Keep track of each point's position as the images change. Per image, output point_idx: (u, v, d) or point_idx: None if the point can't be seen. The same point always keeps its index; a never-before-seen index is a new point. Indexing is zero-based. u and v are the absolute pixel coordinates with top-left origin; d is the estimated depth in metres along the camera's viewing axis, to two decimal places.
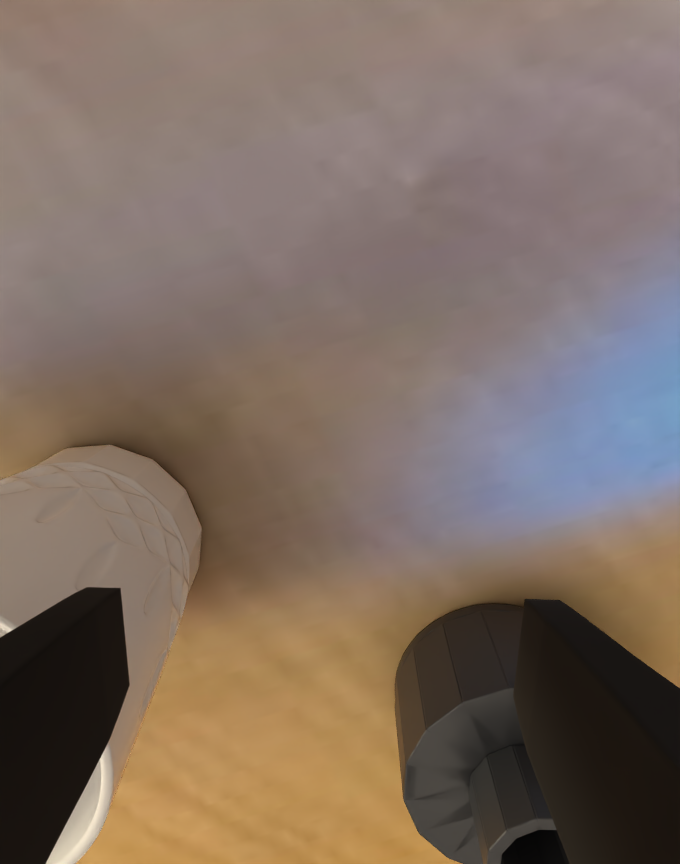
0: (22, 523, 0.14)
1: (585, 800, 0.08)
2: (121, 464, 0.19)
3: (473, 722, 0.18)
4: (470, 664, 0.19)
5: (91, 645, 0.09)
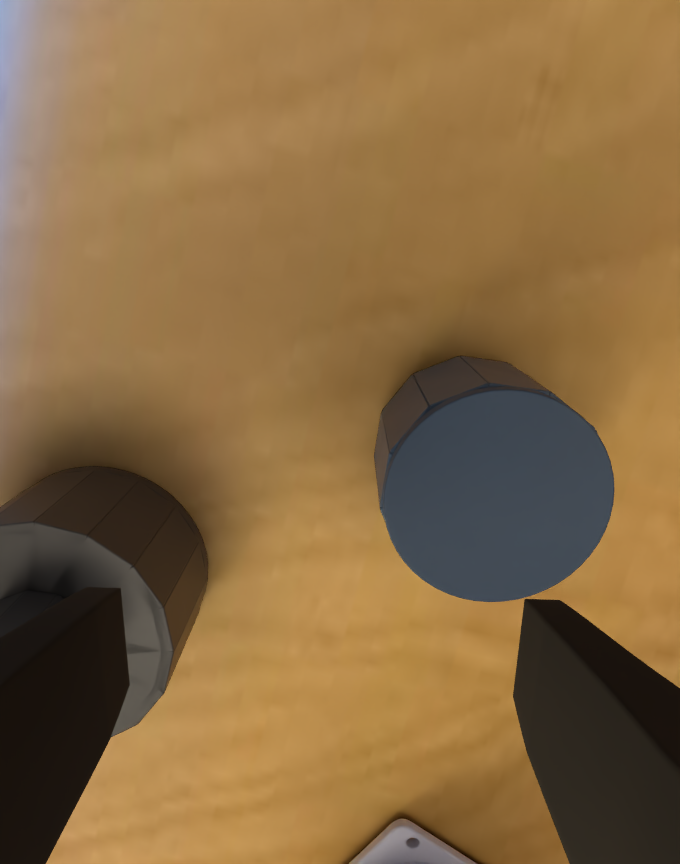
0: None
1: (585, 800, 0.08)
2: None
3: None
4: None
5: (91, 645, 0.09)
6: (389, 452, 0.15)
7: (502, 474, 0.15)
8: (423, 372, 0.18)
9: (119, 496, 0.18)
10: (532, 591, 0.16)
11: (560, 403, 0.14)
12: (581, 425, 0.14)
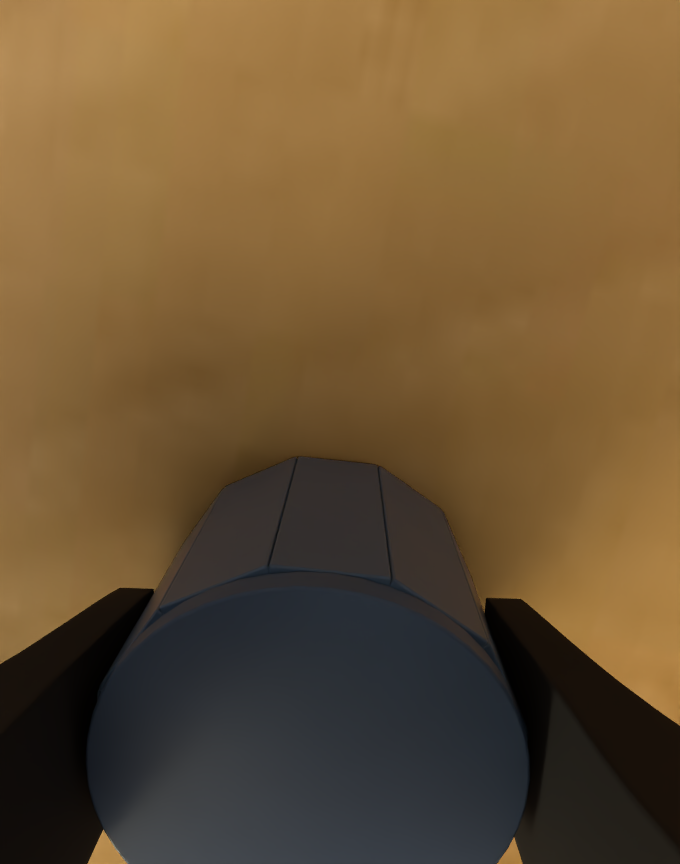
0: None
1: (535, 798, 0.08)
2: None
3: None
4: None
5: None
6: (99, 690, 0.08)
7: (307, 738, 0.08)
8: (234, 488, 0.11)
9: None
10: None
11: (406, 610, 0.07)
12: (452, 650, 0.07)
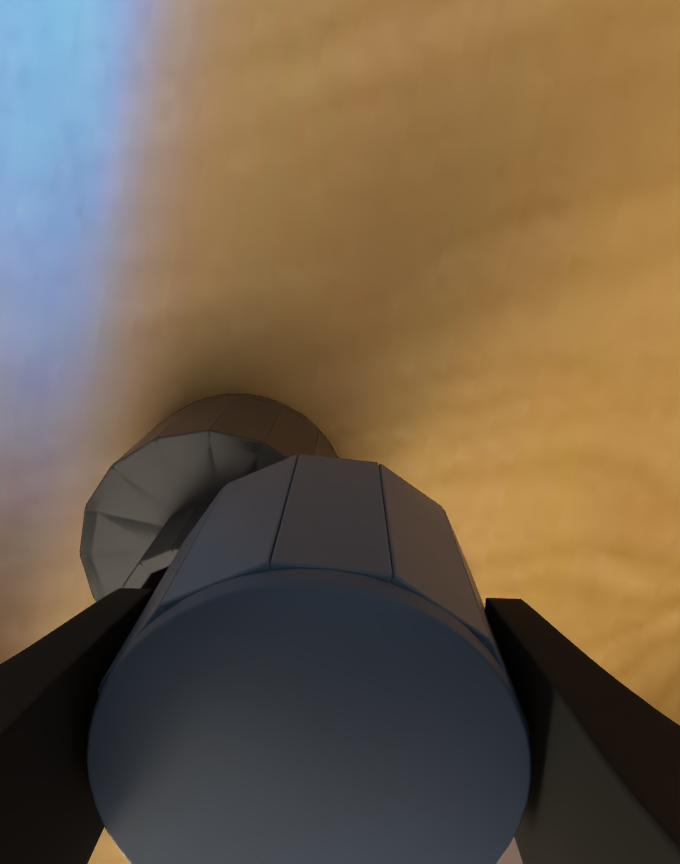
0: None
1: (535, 798, 0.08)
2: None
3: (108, 557, 0.16)
4: None
5: None
6: (99, 687, 0.08)
7: (308, 735, 0.08)
8: (235, 486, 0.11)
9: (272, 415, 0.18)
10: None
11: (407, 606, 0.07)
12: (453, 647, 0.07)
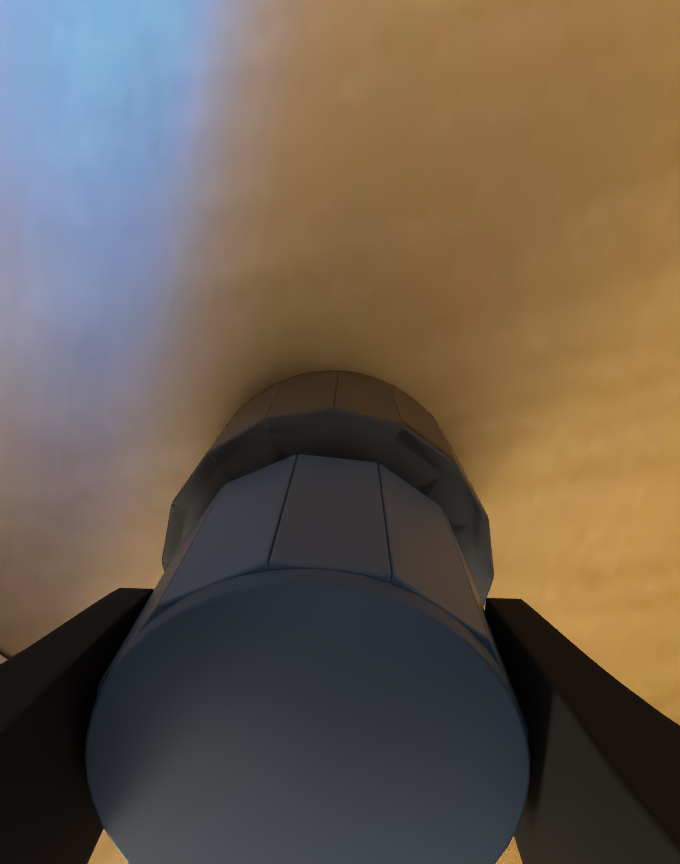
0: None
1: (535, 798, 0.08)
2: None
3: None
4: None
5: None
6: (98, 687, 0.08)
7: (307, 735, 0.08)
8: (234, 486, 0.11)
9: (388, 395, 0.15)
10: None
11: (406, 606, 0.07)
12: (452, 647, 0.07)
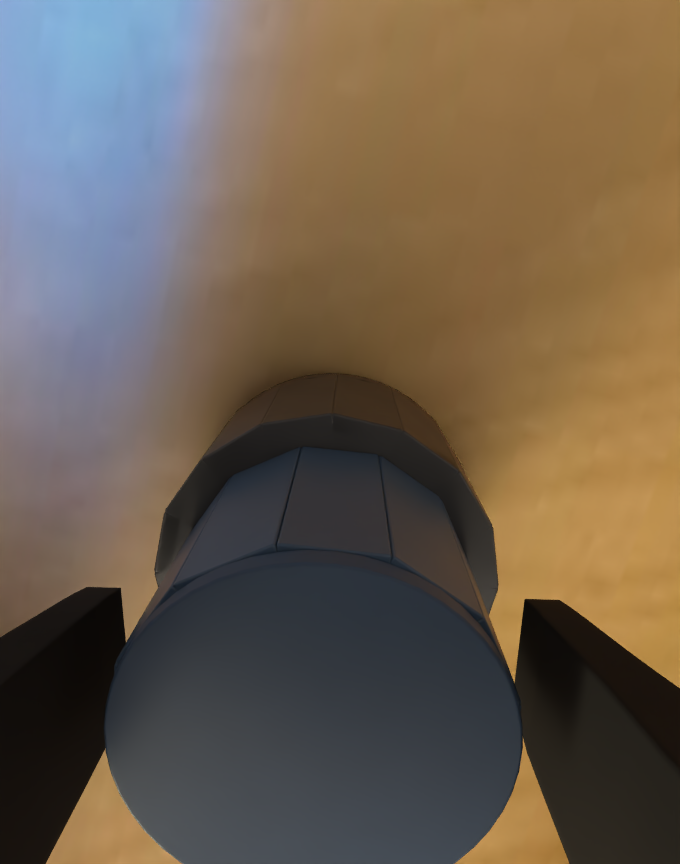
0: None
1: (585, 800, 0.08)
2: None
3: None
4: None
5: (91, 645, 0.09)
6: (116, 663, 0.08)
7: (312, 707, 0.08)
8: (241, 477, 0.12)
9: (389, 398, 0.14)
10: None
11: (405, 585, 0.08)
12: (449, 623, 0.08)
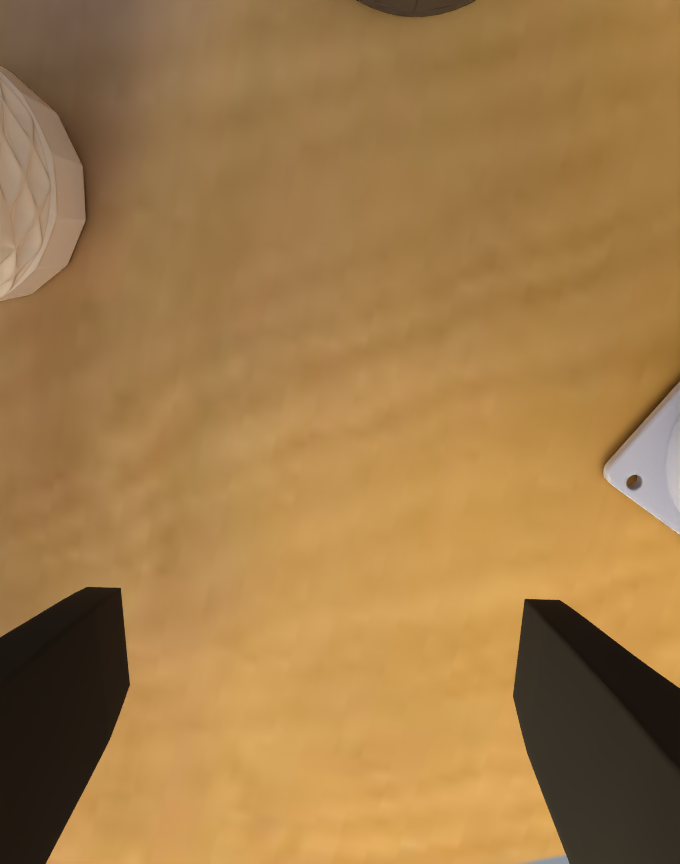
0: None
1: (585, 800, 0.08)
2: None
3: None
4: None
5: (91, 645, 0.09)
6: None
7: None
8: None
9: None
10: None
11: None
12: None
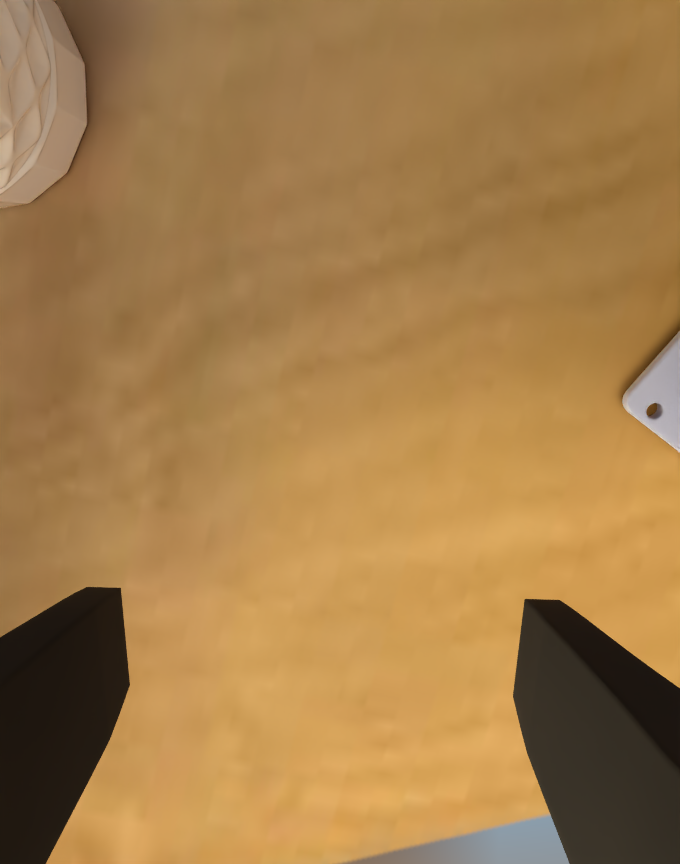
0: None
1: (585, 800, 0.08)
2: None
3: None
4: None
5: (91, 645, 0.09)
6: None
7: None
8: None
9: None
10: None
11: None
12: None
